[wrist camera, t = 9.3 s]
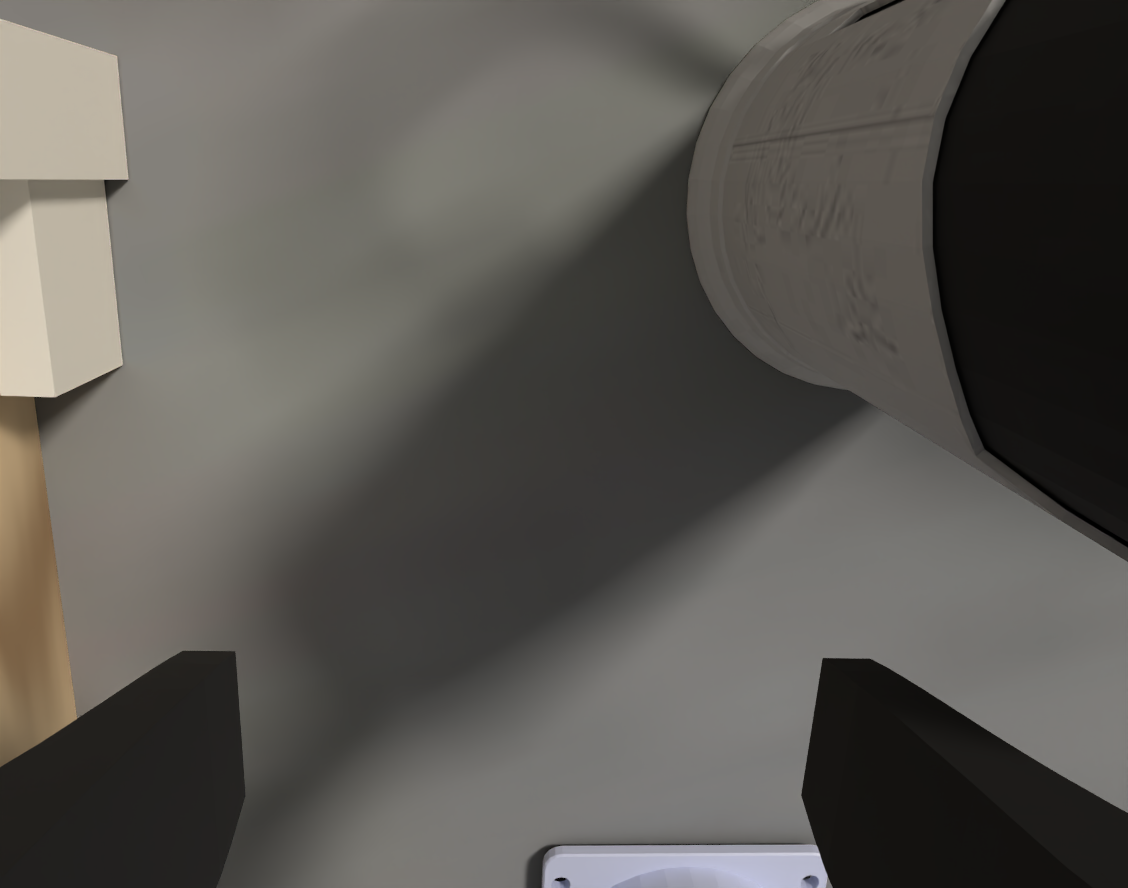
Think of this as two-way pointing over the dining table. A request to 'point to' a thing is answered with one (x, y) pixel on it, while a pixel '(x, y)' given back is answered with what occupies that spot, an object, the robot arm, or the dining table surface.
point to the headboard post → (56, 212)
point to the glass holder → (938, 229)
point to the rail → (28, 593)
